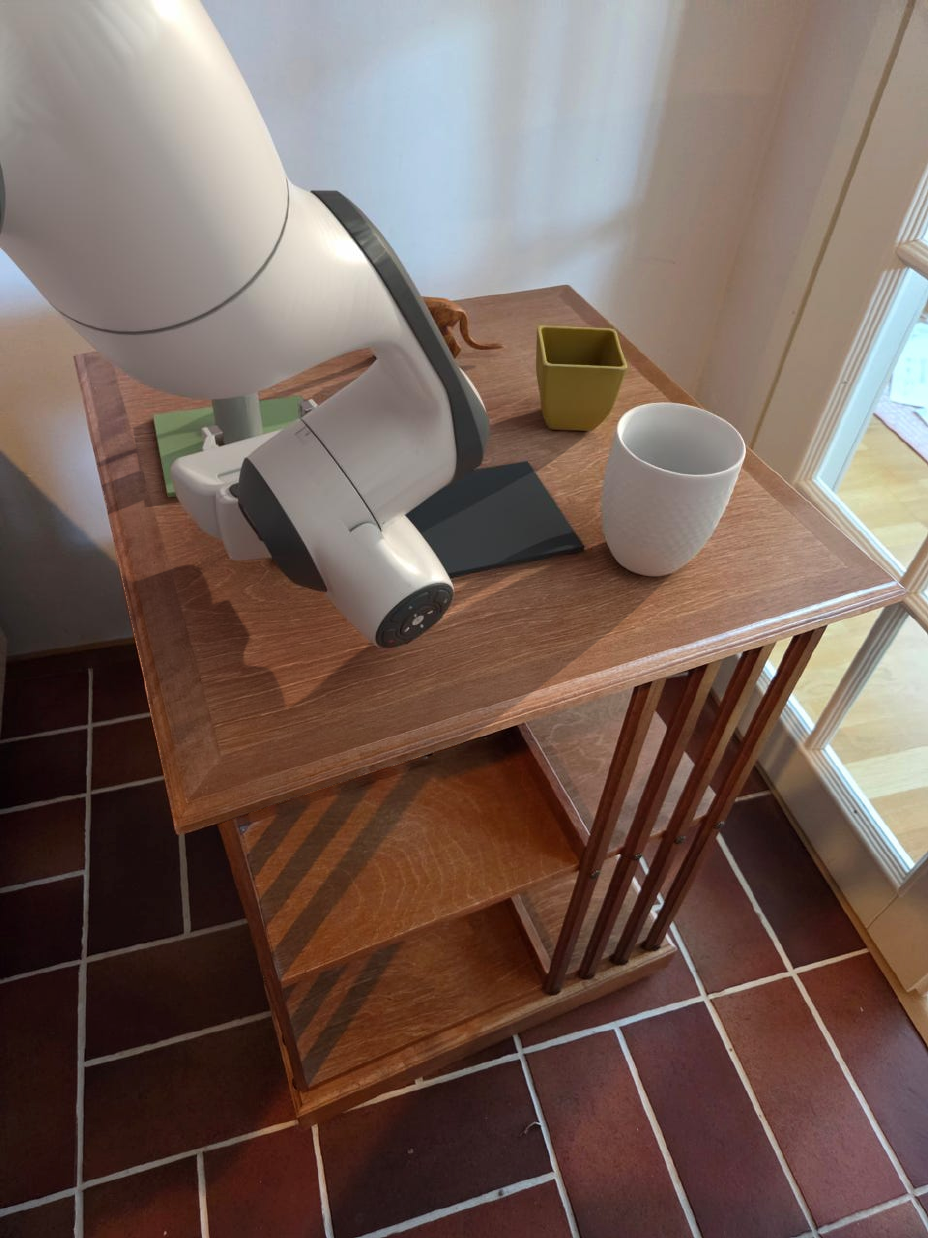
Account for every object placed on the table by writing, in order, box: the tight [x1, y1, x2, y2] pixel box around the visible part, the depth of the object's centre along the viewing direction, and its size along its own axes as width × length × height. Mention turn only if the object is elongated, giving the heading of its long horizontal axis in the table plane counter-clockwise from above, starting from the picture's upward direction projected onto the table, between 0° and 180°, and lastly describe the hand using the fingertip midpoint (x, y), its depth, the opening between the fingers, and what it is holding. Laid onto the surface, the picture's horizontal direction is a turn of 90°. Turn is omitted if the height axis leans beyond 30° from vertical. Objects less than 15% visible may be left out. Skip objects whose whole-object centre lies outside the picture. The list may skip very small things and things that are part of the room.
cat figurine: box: [373, 295, 505, 360], centre depth 96 cm, size 18×7×14 cm, turn 104°
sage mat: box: [152, 395, 305, 499], centre depth 86 cm, size 16×14×1 cm
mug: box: [600, 402, 747, 577], centre depth 75 cm, size 15×11×13 cm
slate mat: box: [405, 460, 586, 579], centre depth 81 cm, size 16×14×1 cm
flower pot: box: [535, 324, 628, 432], centre depth 91 cm, size 9×9×9 cm
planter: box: [210, 392, 263, 445], centre depth 83 cm, size 4×4×10 cm
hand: (258, 419), depth 78 cm, fingers open, 8 cm apart
